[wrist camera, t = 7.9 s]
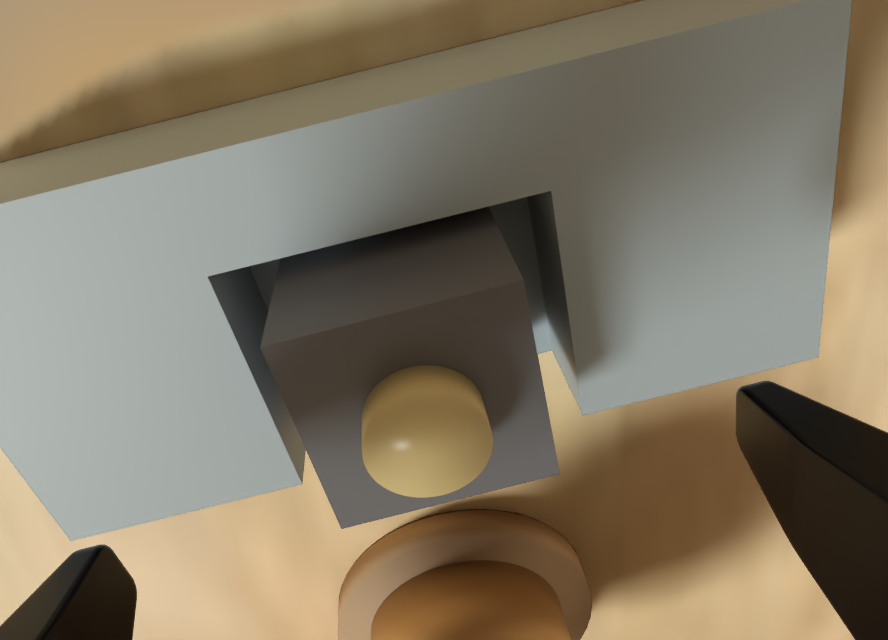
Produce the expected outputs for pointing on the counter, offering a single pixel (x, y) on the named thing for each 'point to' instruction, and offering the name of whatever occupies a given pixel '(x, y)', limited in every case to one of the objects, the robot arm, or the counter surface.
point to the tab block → (411, 367)
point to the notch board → (413, 202)
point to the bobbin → (467, 582)
